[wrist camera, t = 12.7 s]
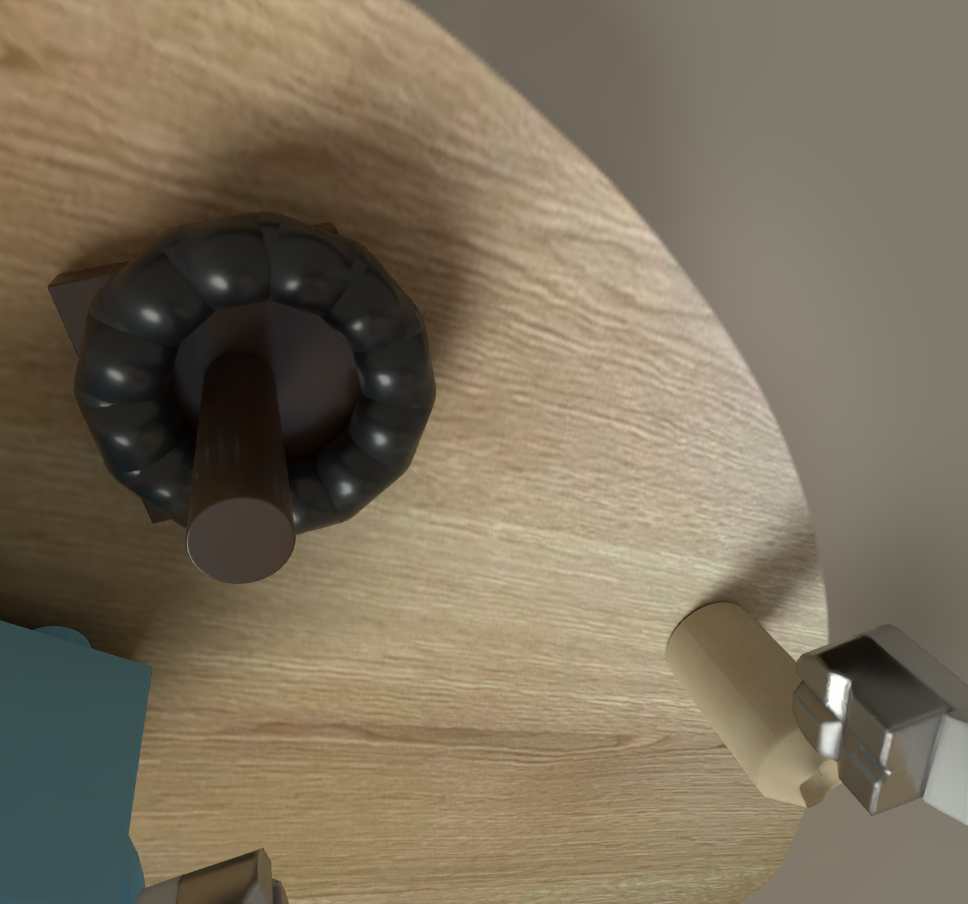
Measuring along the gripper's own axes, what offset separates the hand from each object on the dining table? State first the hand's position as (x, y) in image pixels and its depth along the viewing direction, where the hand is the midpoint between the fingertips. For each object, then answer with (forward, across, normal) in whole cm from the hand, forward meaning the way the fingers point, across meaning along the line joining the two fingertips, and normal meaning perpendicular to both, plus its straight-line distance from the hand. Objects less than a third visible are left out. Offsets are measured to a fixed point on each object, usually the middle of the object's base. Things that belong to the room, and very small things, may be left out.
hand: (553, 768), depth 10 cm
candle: (+20, -16, +22) cm, 33 cm away
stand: (+20, +4, 0) cm, 20 cm away
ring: (+17, +4, 0) cm, 17 cm away
